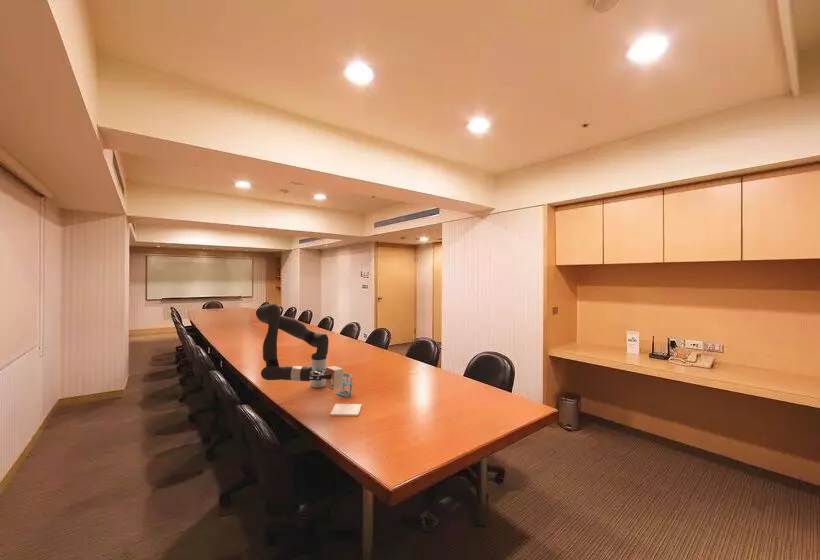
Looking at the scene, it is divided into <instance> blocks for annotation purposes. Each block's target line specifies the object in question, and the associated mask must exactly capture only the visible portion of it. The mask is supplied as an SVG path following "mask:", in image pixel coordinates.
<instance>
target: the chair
mask: <svg viewBox="0 0 820 560" xmlns="http://www.w3.org/2000/svg"><path fill="white" fill-rule="evenodd" d="M349 377H350V381H349ZM345 378H346V380H345ZM352 381H353V375H352V374H350V373H343V388H342V389H341V390H342V391H338V392H337V391H336V395H338V396H342V397H345V398H347V397H352V390H353V385H354V383H353V382H352ZM347 386H349V390H348V389H345V387H347Z"/></svg>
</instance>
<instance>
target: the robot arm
mask: <svg viewBox="0 0 820 560" xmlns="http://www.w3.org/2000/svg"><path fill="white" fill-rule="evenodd" d="M255 317H256V319H257V320H259V321H260V322H262V323H264V324H267V325H268V327H267V332H266V335H265V338H264V339H263V343H262V359H263V360H262V361H264V362H265V366H264V367H263V368H262V369H261V372H260V375H261V378H262V379H263V380H266V381H294V382H310V387H311V388H323V387H326V379H331V375H330V374H326V368H327V356H328V352H329V342H330V341H329V337H328V335H327V334H326V333H321V332H315V331H312V330H310V329H308V327H307V326H306V324H304V323H303V322H302V321H300V320H298V319H296V318H293V317H288V316H284V315H281V309H280V307H279V305H277V304H276V303H269V304H265V305H261V306H259V307H258V308H257V309H256V311H255ZM279 330H280V331H282V332H285V333H286V334H288V335H290V336H292V337H294V338H296V339H299V340H302V341H304V342H305V343H306V344H308V345H309V346H311V347H312V348H316V352H314V353H312V354H311V356H310V357H311V361H310V362H311V365H310V366H307V365H306V366H304V365H303V366H302V365H296V366H293V365H292V366H291V365H290V366H289V365H286V366H285V365H284V366H280V365H279V360H278V346H277V345H278V333H279Z"/></svg>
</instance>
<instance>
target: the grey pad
mask: <svg viewBox="0 0 820 560" xmlns="http://www.w3.org/2000/svg"><path fill="white" fill-rule="evenodd" d="M362 406H363V404H362V403H359V404H358V403H335V405H334V406H333V408H332V410H331V411H330V413H329V416H333V417H336V416H339V417H341V416H343V417H344V416H345V417H358V416H359V415H360V412H361V409H362Z"/></svg>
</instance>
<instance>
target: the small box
mask: <svg viewBox="0 0 820 560" xmlns="http://www.w3.org/2000/svg"><path fill="white" fill-rule="evenodd" d="M326 374H330V375H331V379H326V386H325V387H326V388H327V389H330V390H331V391H333V392H334V391H338V390H343V389H342V388H343V374H344V368H342V367H338V366H336V365H333V366H326Z"/></svg>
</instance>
